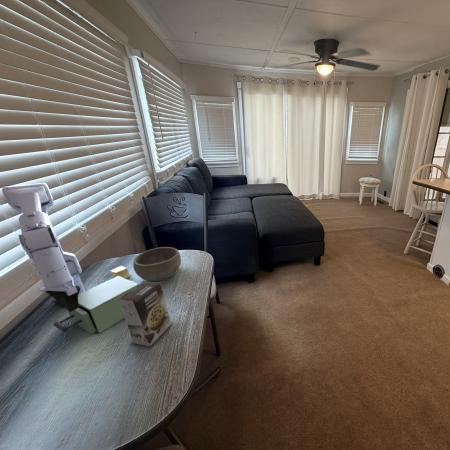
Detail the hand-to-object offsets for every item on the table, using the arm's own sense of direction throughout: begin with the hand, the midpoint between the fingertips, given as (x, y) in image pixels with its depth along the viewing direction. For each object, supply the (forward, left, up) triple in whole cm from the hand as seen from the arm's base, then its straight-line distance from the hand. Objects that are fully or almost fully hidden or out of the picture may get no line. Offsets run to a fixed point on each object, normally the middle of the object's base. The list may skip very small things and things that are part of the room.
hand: (70, 307), depth 72 cm
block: (-21, +24, -9) cm, 33 cm away
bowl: (-7, +32, -10) cm, 35 cm away
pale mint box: (0, +10, -9) cm, 13 cm away
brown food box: (+22, +10, -10) cm, 26 cm away
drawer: (0, +5, -9) cm, 10 cm away
